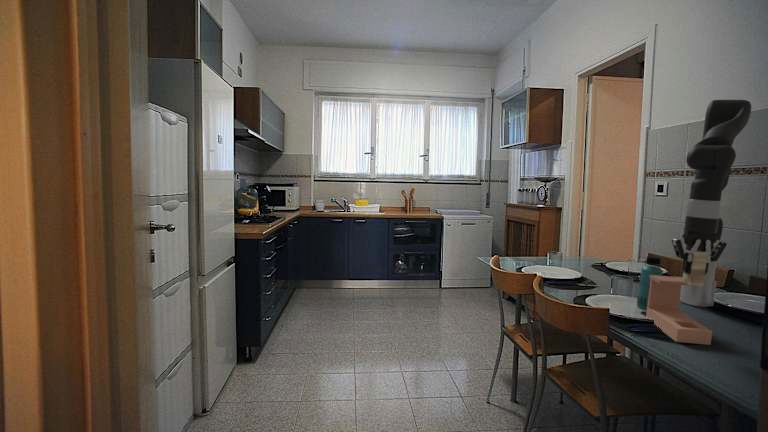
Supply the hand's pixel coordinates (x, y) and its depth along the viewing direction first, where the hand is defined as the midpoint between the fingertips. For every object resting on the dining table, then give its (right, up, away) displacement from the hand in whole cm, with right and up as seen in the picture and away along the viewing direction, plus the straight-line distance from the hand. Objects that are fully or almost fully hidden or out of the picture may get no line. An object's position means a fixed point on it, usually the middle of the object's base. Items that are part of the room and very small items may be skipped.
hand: (694, 273), depth 116 cm
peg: (0, -3, 0) cm, 3 cm away
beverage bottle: (+1, -17, +22) cm, 28 cm away
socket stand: (0, -19, +7) cm, 20 cm away
